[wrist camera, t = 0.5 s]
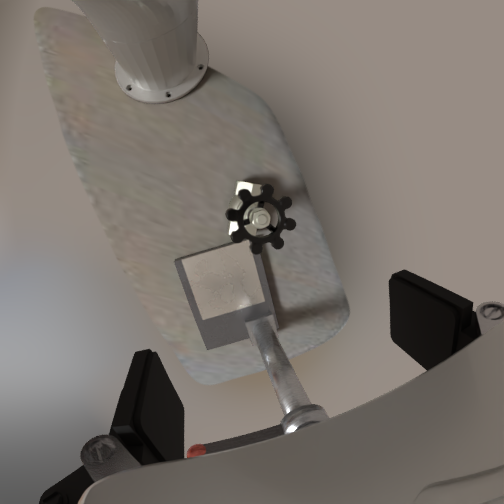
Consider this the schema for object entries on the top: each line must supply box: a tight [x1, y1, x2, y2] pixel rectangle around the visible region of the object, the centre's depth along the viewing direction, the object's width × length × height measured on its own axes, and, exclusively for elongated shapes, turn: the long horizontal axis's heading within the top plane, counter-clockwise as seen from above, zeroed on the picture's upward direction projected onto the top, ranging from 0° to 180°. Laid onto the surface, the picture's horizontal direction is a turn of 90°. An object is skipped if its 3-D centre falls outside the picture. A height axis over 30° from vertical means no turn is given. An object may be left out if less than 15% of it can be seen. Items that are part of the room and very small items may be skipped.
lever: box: [187, 404, 329, 458], centre depth 22 cm, size 13×4×2 cm, turn 105°
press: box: [174, 239, 320, 431], centre depth 30 cm, size 15×11×23 cm
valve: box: [225, 181, 296, 255], centre depth 32 cm, size 7×7×12 cm
